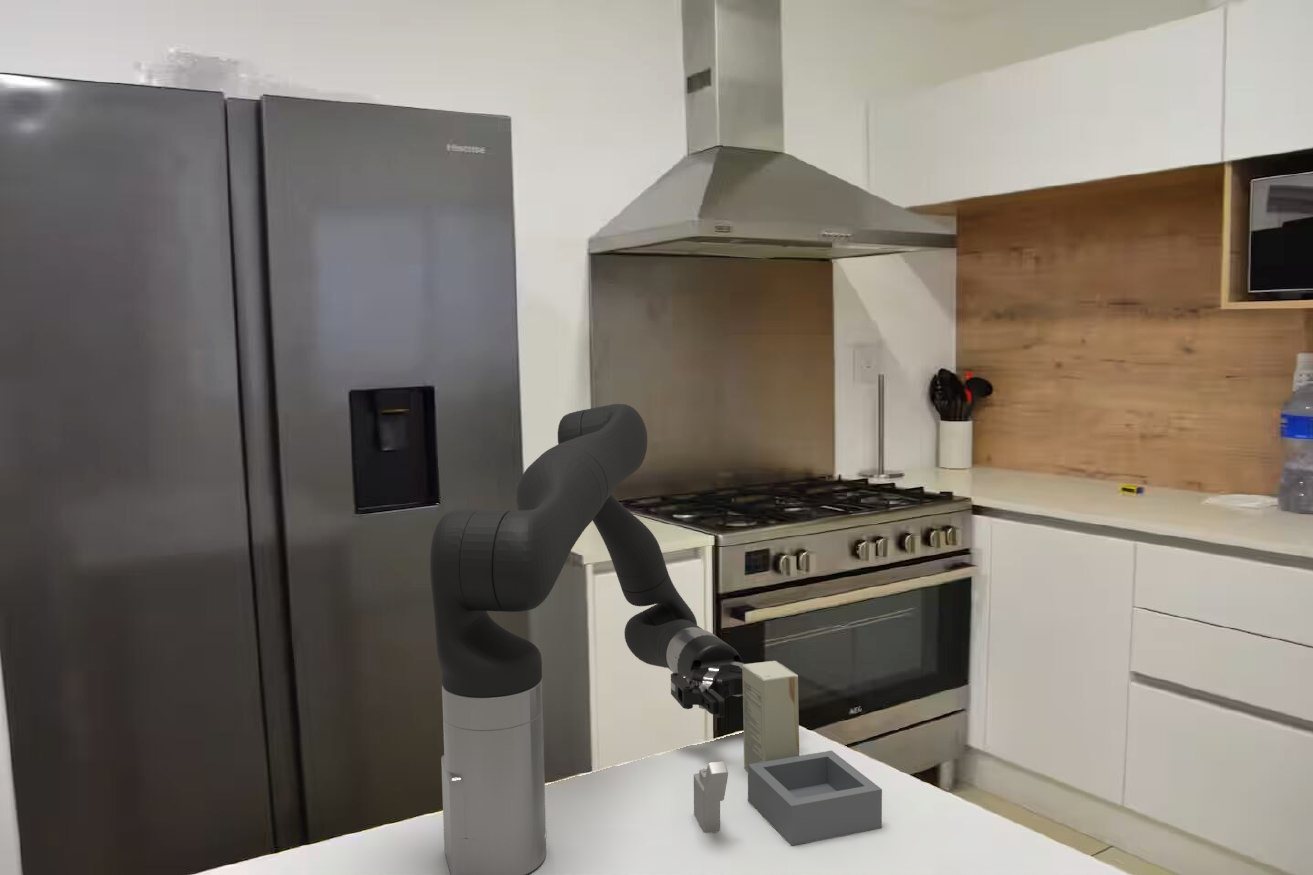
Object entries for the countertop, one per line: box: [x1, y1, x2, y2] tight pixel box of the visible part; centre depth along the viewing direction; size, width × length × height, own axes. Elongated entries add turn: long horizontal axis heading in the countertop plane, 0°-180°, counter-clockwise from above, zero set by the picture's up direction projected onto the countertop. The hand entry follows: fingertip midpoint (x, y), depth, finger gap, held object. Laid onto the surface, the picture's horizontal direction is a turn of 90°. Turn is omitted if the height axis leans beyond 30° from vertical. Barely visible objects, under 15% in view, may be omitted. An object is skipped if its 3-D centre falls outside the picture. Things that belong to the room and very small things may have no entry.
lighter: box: [693, 760, 729, 834], centre depth 98 cm, size 7×2×8 cm, turn 12°
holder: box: [747, 750, 883, 847], centre depth 101 cm, size 10×10×4 cm
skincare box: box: [742, 660, 800, 772], centre depth 110 cm, size 6×4×12 cm
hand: (756, 704), depth 113 cm, fingers open, 8 cm apart
